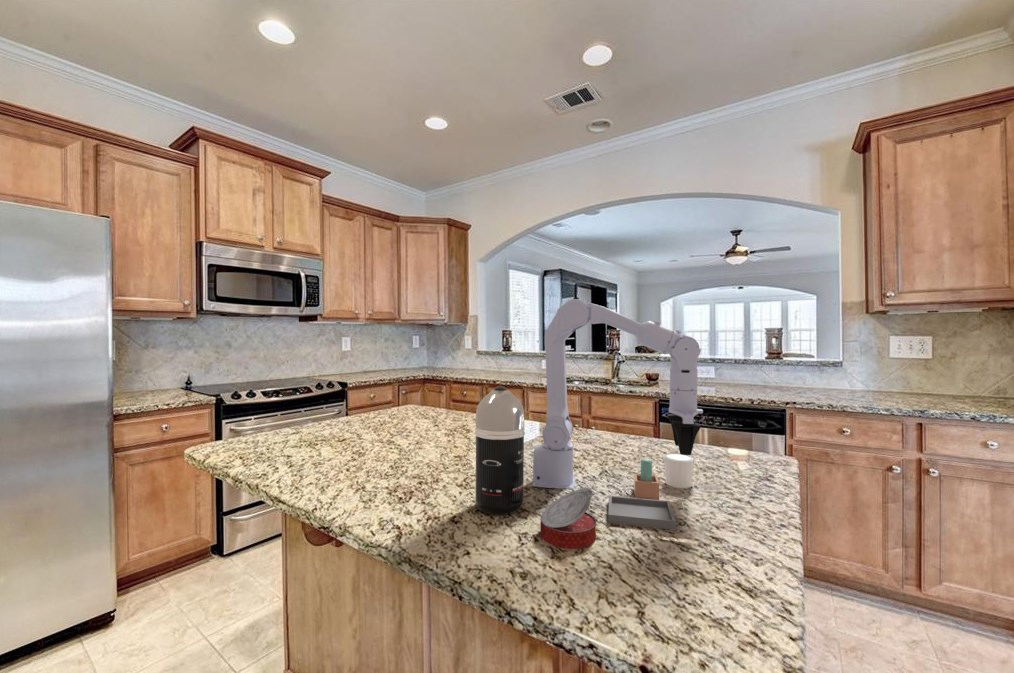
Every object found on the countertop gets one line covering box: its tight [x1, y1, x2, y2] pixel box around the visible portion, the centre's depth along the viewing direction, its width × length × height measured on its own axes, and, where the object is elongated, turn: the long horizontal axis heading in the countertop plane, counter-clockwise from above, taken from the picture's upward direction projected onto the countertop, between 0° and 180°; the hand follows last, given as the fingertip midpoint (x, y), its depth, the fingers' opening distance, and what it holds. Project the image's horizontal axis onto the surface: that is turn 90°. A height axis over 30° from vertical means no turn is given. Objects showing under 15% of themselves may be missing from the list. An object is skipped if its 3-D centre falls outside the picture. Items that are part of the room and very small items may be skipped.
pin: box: [640, 458, 653, 482], centre depth 96 cm, size 2×2×8 cm
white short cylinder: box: [663, 452, 695, 489], centre depth 102 cm, size 7×7×7 cm
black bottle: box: [474, 385, 526, 516], centre depth 89 cm, size 10×10×25 cm
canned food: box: [539, 487, 597, 550], centre depth 77 cm, size 11×10×10 cm
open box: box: [633, 473, 660, 500], centre depth 96 cm, size 5×5×4 cm
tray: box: [607, 495, 677, 531], centre depth 84 cm, size 12×10×2 cm
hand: (682, 450), depth 97 cm, fingers open, 7 cm apart
